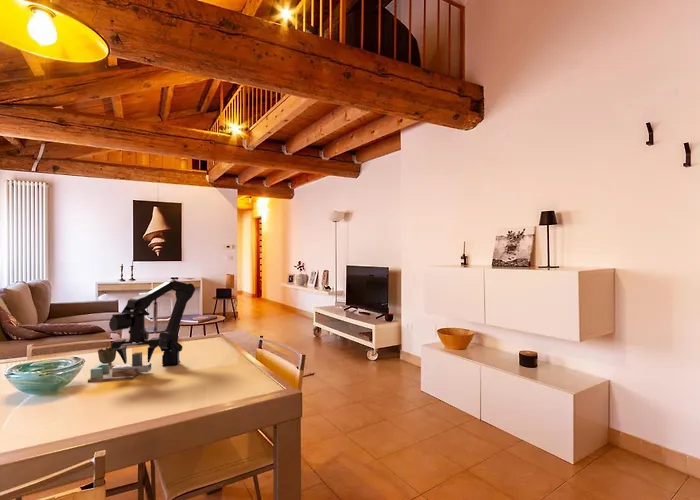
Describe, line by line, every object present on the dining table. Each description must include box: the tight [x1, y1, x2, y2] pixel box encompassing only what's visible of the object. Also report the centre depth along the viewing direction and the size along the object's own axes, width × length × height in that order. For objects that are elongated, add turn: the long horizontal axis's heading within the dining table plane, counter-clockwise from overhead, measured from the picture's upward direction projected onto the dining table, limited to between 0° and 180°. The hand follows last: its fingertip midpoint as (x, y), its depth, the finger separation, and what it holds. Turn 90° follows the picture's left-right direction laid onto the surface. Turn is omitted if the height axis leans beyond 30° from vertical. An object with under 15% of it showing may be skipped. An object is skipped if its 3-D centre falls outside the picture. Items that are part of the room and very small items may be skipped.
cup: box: [97, 346, 117, 367], centre depth 175 cm, size 8×7×8 cm
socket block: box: [90, 363, 110, 378], centre depth 159 cm, size 4×8×4 cm, turn 11°
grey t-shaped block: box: [111, 352, 152, 374], centre depth 161 cm, size 14×4×8 cm, turn 101°
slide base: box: [87, 369, 141, 383], centre depth 160 cm, size 17×13×3 cm
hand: (137, 362), depth 162 cm, fingers open, 9 cm apart
